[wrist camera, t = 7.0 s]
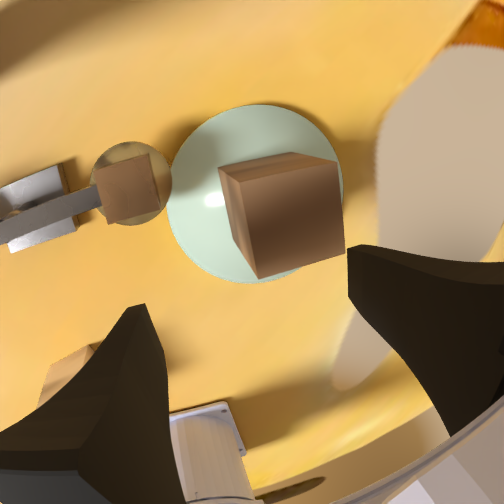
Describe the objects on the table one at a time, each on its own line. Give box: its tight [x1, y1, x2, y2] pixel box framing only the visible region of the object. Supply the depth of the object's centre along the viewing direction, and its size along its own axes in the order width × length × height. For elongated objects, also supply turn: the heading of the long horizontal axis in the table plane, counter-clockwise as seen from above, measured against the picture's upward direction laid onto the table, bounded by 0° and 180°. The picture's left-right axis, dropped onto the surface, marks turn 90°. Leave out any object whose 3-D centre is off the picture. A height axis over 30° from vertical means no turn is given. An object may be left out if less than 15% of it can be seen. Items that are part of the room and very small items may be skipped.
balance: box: [0, 141, 172, 253], centre depth 13 cm, size 4×18×6 cm, turn 100°
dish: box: [167, 105, 343, 283], centre depth 19 cm, size 11×11×1 cm
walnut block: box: [217, 152, 345, 280], centre depth 16 cm, size 4×4×6 cm
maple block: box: [37, 345, 94, 408], centre depth 19 cm, size 4×4×6 cm
